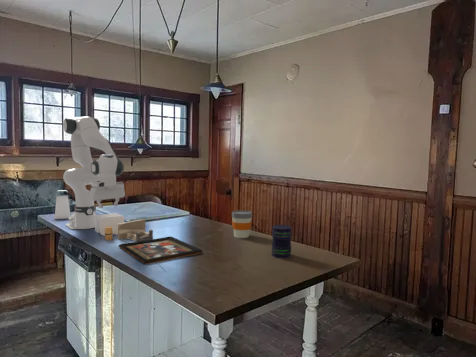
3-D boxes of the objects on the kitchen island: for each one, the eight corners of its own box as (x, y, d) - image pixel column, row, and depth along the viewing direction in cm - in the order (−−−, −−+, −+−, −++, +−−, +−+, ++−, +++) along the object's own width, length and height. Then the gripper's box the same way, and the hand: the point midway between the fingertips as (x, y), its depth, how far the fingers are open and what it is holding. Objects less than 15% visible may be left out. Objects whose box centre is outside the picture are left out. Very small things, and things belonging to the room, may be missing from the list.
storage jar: (286, 259, 176) (286, 229, 174) (268, 256, 181) (268, 227, 179) (294, 254, 184) (295, 226, 183) (276, 251, 189) (277, 223, 188)
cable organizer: (99, 237, 212) (98, 217, 211) (94, 233, 221) (94, 214, 219) (124, 233, 220) (124, 215, 219) (119, 230, 229) (119, 212, 228)
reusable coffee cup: (255, 236, 220) (256, 212, 219) (242, 240, 211) (242, 214, 210) (240, 232, 229) (241, 209, 227) (227, 236, 219) (227, 211, 218)
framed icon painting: (208, 252, 187) (208, 246, 186) (148, 268, 162) (148, 262, 162) (167, 238, 214) (167, 234, 214) (111, 250, 189) (111, 245, 189)
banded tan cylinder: (103, 239, 207) (103, 227, 206) (110, 238, 210) (109, 226, 209) (107, 240, 204) (107, 228, 203) (114, 239, 207) (113, 227, 207)
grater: (55, 216, 269) (54, 189, 267) (70, 215, 273) (69, 189, 272) (54, 219, 259) (53, 191, 258) (70, 218, 264) (69, 191, 262)
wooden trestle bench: (118, 239, 208) (117, 223, 207) (143, 233, 222) (143, 219, 221) (132, 243, 200) (131, 227, 199) (157, 237, 214) (157, 222, 213)
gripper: (120, 181, 214) (121, 204, 215) (88, 183, 198) (88, 208, 199) (127, 181, 210) (127, 205, 211) (94, 184, 194) (94, 209, 195)
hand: (108, 206), depth 205 cm, fingers open, 8 cm apart
